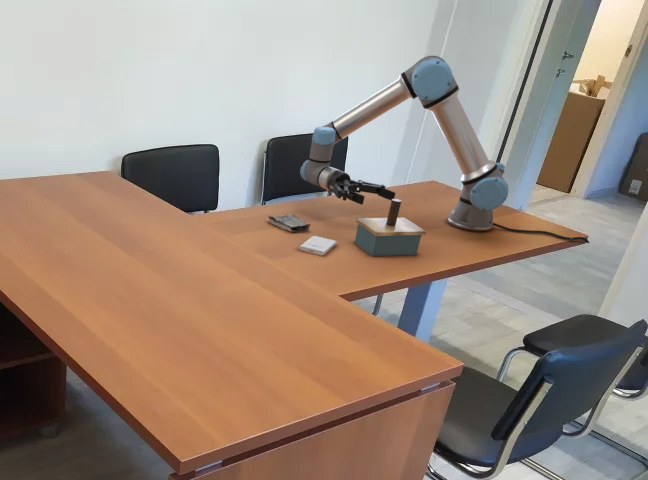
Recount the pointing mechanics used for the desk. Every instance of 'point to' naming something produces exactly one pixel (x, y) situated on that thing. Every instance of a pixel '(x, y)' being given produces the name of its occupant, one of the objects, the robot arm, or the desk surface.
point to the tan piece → (391, 223)
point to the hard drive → (317, 245)
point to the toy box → (386, 243)
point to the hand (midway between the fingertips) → (378, 198)
